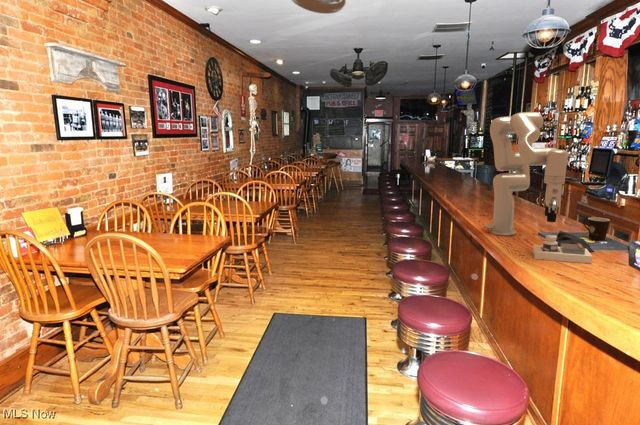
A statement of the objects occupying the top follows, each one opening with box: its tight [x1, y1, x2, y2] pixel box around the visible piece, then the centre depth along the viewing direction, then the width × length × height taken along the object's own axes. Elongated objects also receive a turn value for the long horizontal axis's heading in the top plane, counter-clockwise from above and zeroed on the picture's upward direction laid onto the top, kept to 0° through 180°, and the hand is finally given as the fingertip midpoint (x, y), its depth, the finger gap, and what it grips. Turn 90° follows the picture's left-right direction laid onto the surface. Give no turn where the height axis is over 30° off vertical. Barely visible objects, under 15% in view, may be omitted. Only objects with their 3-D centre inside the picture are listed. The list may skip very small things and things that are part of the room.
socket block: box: [532, 244, 593, 264], centre depth 165 cm, size 20×11×3 cm, turn 66°
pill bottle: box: [542, 234, 559, 252], centre depth 167 cm, size 5×5×9 cm
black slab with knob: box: [556, 230, 595, 253], centre depth 181 cm, size 15×22×5 cm
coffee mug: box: [582, 216, 611, 242], centre depth 190 cm, size 12×9×10 cm
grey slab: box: [561, 243, 585, 254], centre depth 163 cm, size 8×8×3 cm
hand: (549, 218), depth 168 cm, fingers open, 9 cm apart
